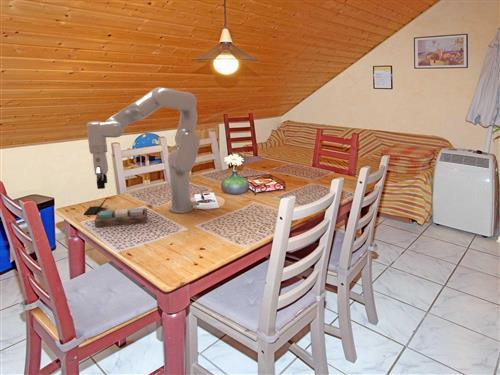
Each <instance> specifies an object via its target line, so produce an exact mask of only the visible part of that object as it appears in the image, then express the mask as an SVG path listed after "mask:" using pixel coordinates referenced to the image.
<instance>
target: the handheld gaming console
mask: <svg viewBox="0 0 500 375" xmlns="http://www.w3.org/2000/svg"><path fill="white" fill-rule="evenodd" d="M106 201H107V198H105V199H104V200H103V201H102V202H101V204H100V205H99V206H96V205H94V206H89V207H88V209H86V210H85V211H84V212H83V216H97V214H98V213H99V212H100V211H101V209H102V206H103V205H104V203H105V202H106Z"/></svg>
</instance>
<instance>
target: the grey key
mask: <svg viewBox="0 0 500 375" xmlns="http://www.w3.org/2000/svg"><path fill="white" fill-rule="evenodd" d="M143 209H144V208H143V207H136V208H130V210H131V211H130V216H141V215H143Z"/></svg>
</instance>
